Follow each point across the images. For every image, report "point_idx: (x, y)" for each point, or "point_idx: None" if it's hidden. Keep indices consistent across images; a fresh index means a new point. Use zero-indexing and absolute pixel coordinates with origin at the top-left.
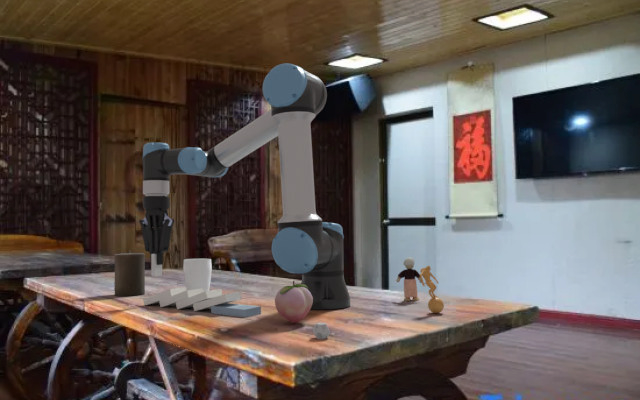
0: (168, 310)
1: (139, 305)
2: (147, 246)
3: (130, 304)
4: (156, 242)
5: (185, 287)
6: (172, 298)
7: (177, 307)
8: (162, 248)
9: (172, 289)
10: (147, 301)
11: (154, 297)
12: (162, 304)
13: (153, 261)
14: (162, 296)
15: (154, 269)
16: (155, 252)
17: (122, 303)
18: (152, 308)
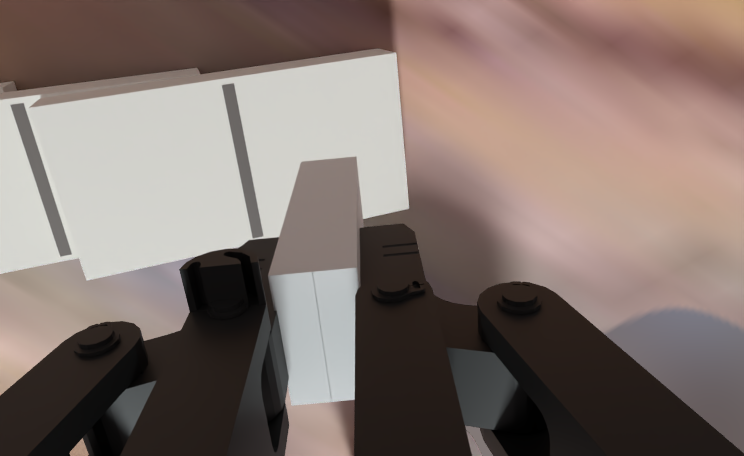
0: (21, 17)
1: (422, 35)
2: (507, 342)
3: (528, 23)
4: (175, 433)
5: (84, 272)
6: (32, 93)
7: (3, 83)
8: (42, 371)
9: (39, 135)
10: (340, 56)
11: (253, 71)
12: (169, 73)
13: (308, 221)
14: (151, 84)
15: (298, 186)
16: (185, 264)
17: (630, 16)
18: (204, 3)
